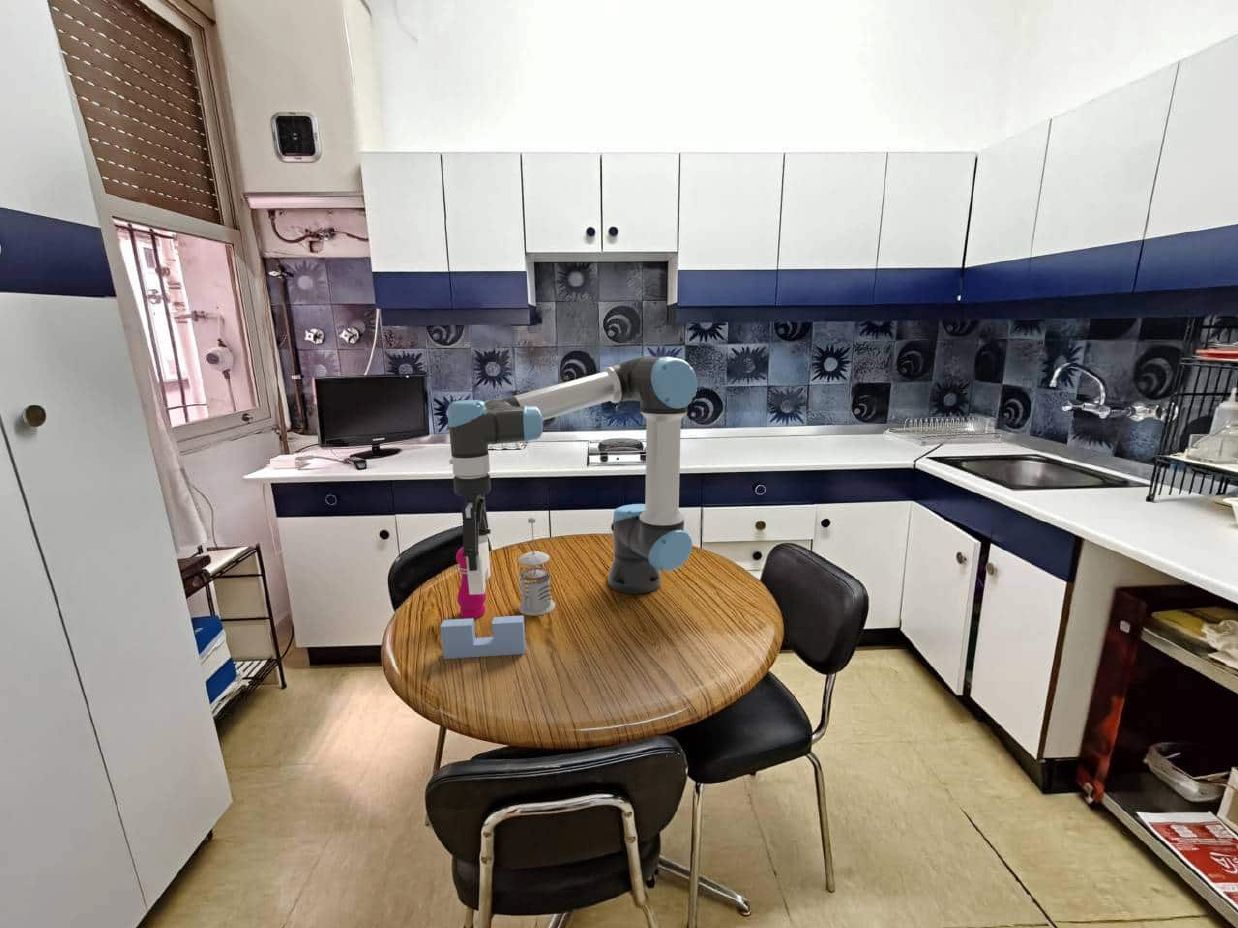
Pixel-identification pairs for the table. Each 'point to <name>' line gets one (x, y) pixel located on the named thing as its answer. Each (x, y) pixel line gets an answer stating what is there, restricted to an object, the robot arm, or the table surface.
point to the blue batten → (464, 644)
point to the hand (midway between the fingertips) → (479, 572)
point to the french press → (538, 593)
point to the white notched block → (482, 569)
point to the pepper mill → (469, 603)
